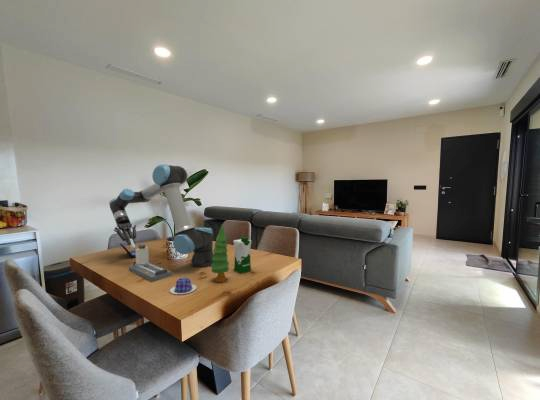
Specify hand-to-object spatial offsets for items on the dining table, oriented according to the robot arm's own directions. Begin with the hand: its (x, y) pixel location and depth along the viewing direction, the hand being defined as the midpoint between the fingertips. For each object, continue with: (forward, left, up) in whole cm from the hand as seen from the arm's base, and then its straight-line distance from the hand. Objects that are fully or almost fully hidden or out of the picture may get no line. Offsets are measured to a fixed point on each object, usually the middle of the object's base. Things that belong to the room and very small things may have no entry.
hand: (133, 248), depth 151 cm
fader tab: (-9, +5, -8) cm, 13 cm away
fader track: (-17, +9, -11) cm, 22 cm away
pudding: (-47, +27, -12) cm, 56 cm away
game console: (+17, -21, -12) cm, 29 cm away
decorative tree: (-60, +13, -11) cm, 62 cm away
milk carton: (-68, -3, -11) cm, 69 cm away
